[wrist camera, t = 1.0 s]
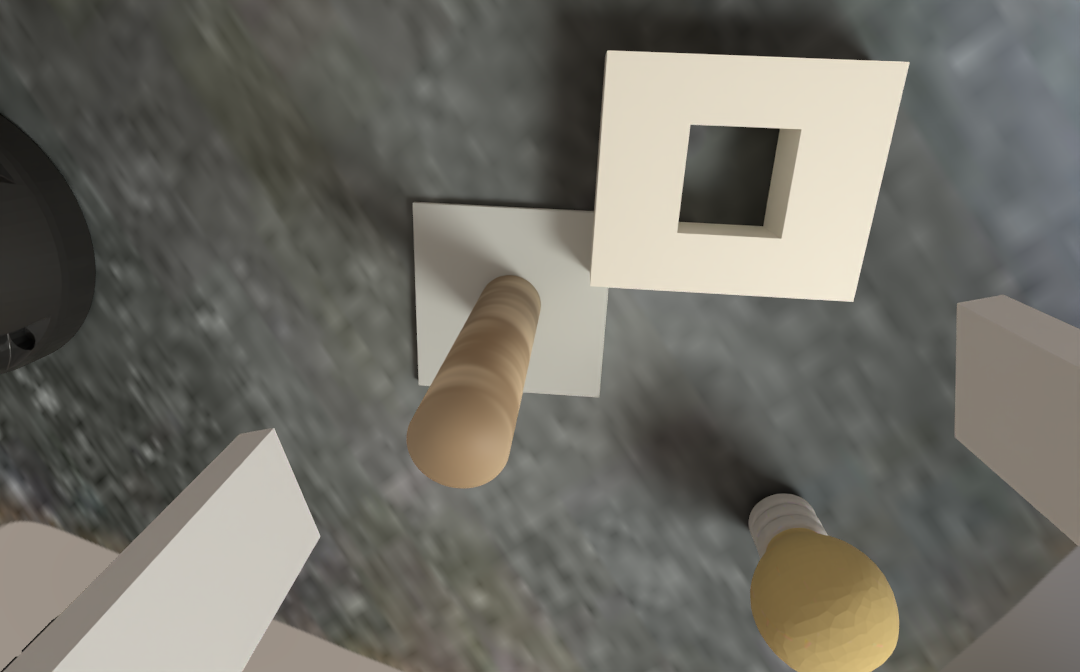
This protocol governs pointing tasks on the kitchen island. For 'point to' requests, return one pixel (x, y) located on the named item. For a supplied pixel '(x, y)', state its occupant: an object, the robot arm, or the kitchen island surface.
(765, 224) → the hole block
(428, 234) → the mat
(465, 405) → the dowel
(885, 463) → the kitchen island surface
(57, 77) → the kitchen island surface
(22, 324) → the robot arm
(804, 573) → the light bulb
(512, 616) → the kitchen island surface
